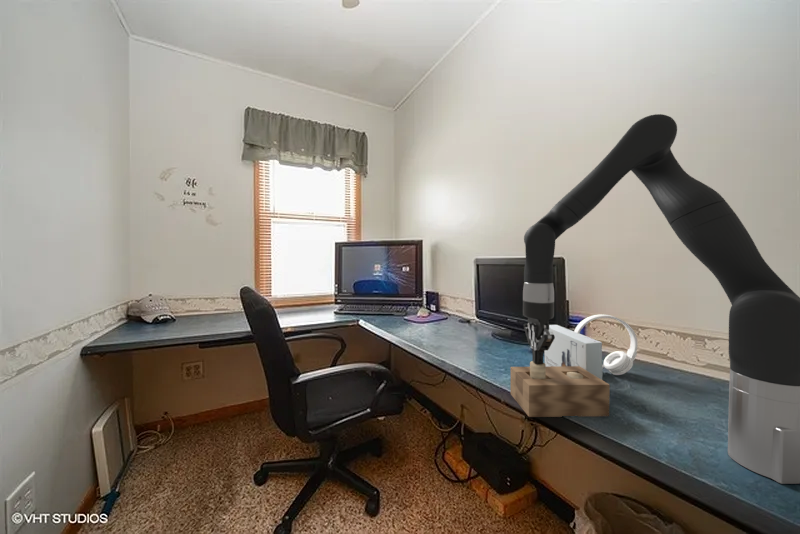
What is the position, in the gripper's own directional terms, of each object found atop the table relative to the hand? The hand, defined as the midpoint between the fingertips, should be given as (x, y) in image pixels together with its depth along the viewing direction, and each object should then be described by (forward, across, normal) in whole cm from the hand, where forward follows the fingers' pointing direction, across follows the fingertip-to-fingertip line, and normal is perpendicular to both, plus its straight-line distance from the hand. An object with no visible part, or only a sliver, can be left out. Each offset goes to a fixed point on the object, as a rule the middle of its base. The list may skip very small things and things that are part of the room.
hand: (537, 363), depth 77 cm
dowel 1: (+8, 0, 0) cm, 8 cm away
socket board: (+11, 0, -5) cm, 12 cm away
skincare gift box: (+12, +14, -17) cm, 25 cm away
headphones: (+12, +20, -32) cm, 39 cm away
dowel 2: (+11, 0, -10) cm, 15 cm away
